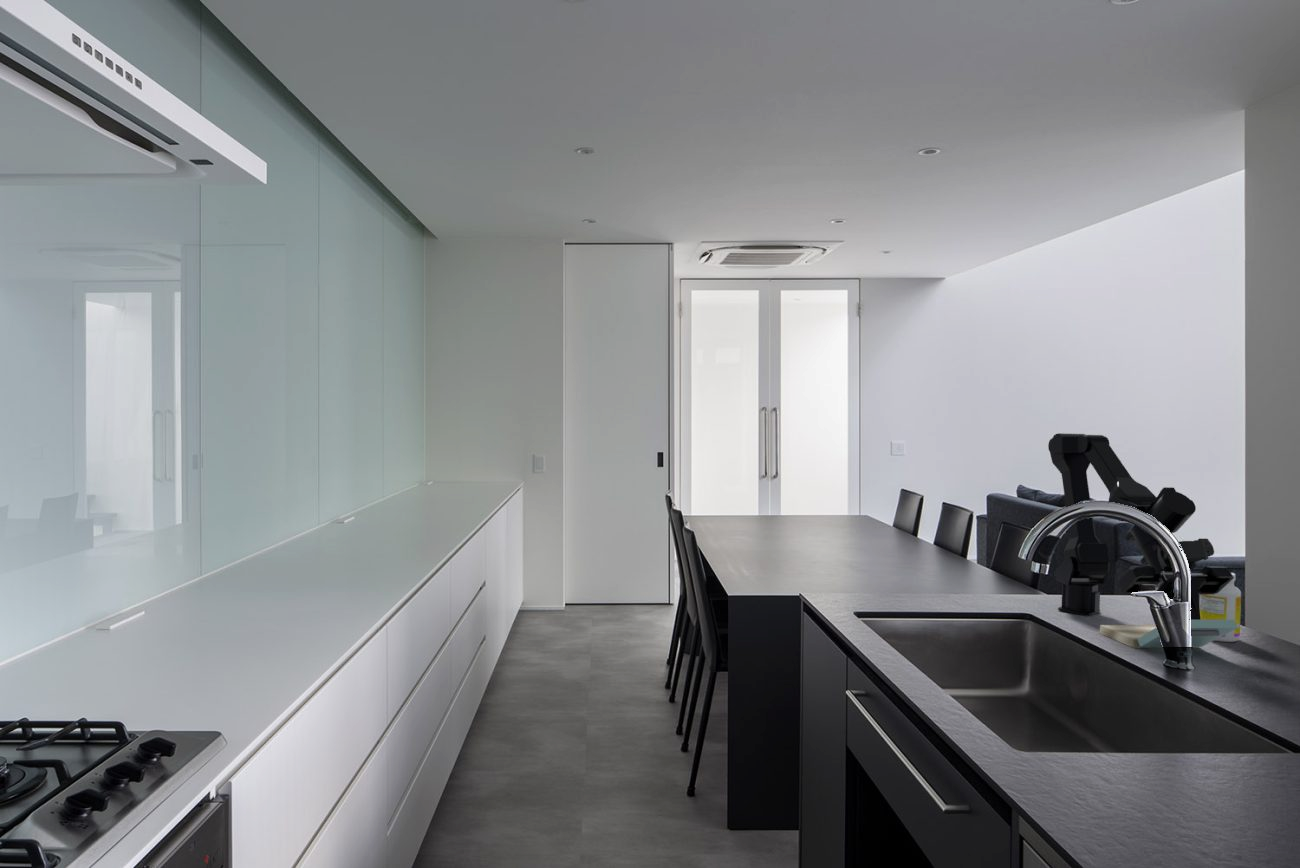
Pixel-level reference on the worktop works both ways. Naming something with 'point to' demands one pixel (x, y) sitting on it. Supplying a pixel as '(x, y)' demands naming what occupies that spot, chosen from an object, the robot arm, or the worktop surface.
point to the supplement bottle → (1223, 608)
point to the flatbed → (1127, 633)
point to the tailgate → (1194, 633)
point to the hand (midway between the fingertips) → (1197, 621)
